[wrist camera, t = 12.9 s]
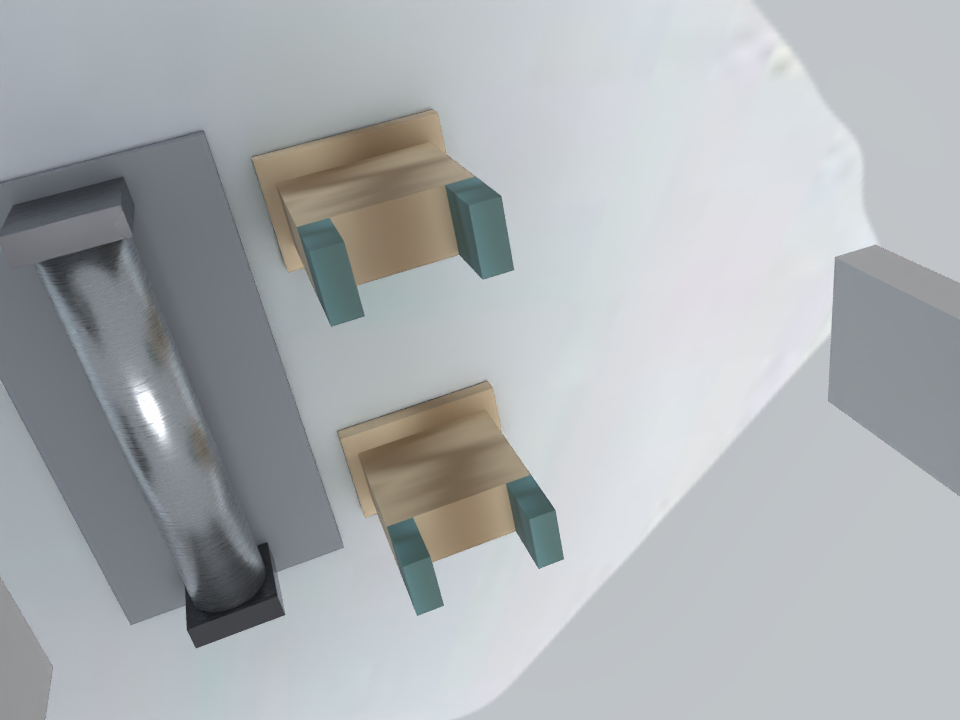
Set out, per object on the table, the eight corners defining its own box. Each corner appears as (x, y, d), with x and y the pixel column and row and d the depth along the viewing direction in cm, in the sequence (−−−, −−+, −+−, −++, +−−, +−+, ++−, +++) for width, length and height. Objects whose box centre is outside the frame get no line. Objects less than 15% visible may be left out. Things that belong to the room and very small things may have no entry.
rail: (274, 559, 44) (285, 614, 41) (192, 589, 43) (195, 648, 40) (123, 176, 34) (120, 204, 31) (12, 204, 33) (-4, 238, 30)
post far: (362, 509, 45) (409, 639, 37) (337, 431, 43) (382, 552, 35) (503, 458, 47) (579, 572, 39) (487, 381, 45) (565, 484, 36)
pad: (130, 616, 44) (130, 625, 43) (-86, 204, 33) (-90, 209, 32) (341, 540, 46) (343, 547, 45) (203, 131, 35) (204, 134, 35)
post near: (285, 266, 38) (322, 359, 30) (251, 157, 36) (281, 225, 28) (454, 217, 40) (534, 292, 32) (432, 109, 38) (512, 160, 29)
